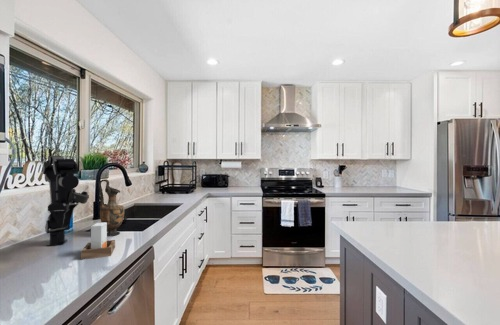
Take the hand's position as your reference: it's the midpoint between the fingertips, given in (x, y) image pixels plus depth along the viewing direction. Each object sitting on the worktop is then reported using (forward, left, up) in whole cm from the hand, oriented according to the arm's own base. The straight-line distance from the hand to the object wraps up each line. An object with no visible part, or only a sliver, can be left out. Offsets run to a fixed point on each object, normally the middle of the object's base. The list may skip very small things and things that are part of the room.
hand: (65, 223), depth 104 cm
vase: (-23, +14, -13) cm, 30 cm away
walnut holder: (+5, +14, -13) cm, 20 cm away
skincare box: (+5, +14, -13) cm, 19 cm away
